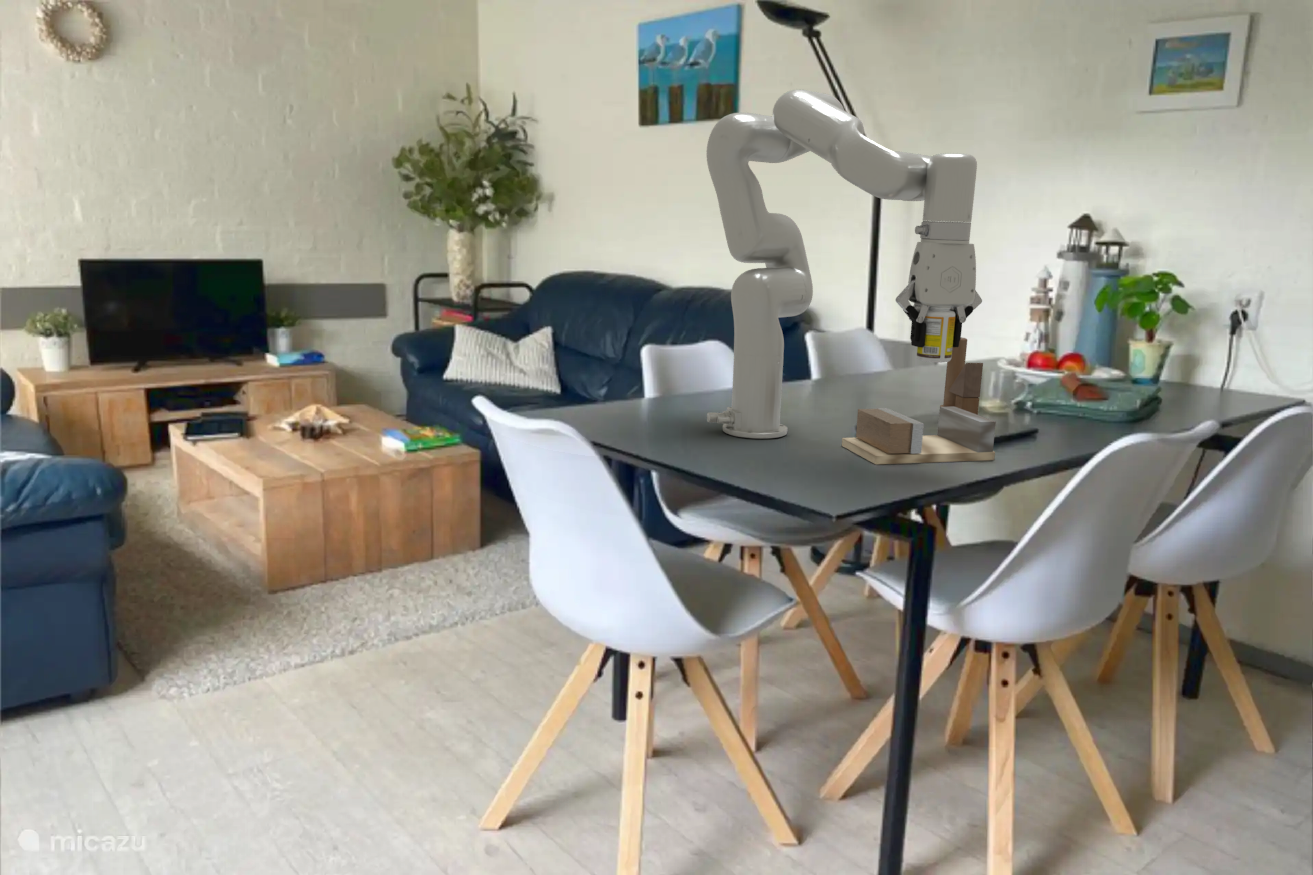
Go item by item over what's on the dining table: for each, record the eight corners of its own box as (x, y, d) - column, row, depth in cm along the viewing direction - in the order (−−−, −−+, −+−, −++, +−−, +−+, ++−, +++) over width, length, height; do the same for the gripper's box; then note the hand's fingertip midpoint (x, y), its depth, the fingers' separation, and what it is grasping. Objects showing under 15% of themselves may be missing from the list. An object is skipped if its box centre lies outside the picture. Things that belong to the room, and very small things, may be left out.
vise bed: (875, 464, 167) (878, 424, 166) (841, 445, 180) (844, 408, 179) (994, 460, 173) (998, 421, 171) (953, 442, 186) (956, 406, 184)
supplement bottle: (942, 358, 163) (948, 297, 161) (956, 363, 158) (963, 300, 155) (910, 358, 162) (916, 296, 160) (923, 363, 157) (929, 299, 155)
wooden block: (959, 432, 195) (968, 343, 191) (937, 421, 205) (945, 336, 201) (977, 432, 195) (986, 343, 191) (954, 421, 206) (962, 336, 202)
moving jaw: (889, 454, 167) (892, 424, 166) (854, 436, 181) (856, 408, 179) (921, 453, 169) (923, 423, 168) (884, 435, 182) (886, 407, 181)
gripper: (909, 233, 150) (898, 349, 154) (1006, 236, 154) (993, 349, 158) (885, 232, 157) (876, 343, 161) (979, 234, 161) (968, 343, 165)
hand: (934, 345), depth 160 cm, fingers closed on supplement bottle, 5 cm apart
